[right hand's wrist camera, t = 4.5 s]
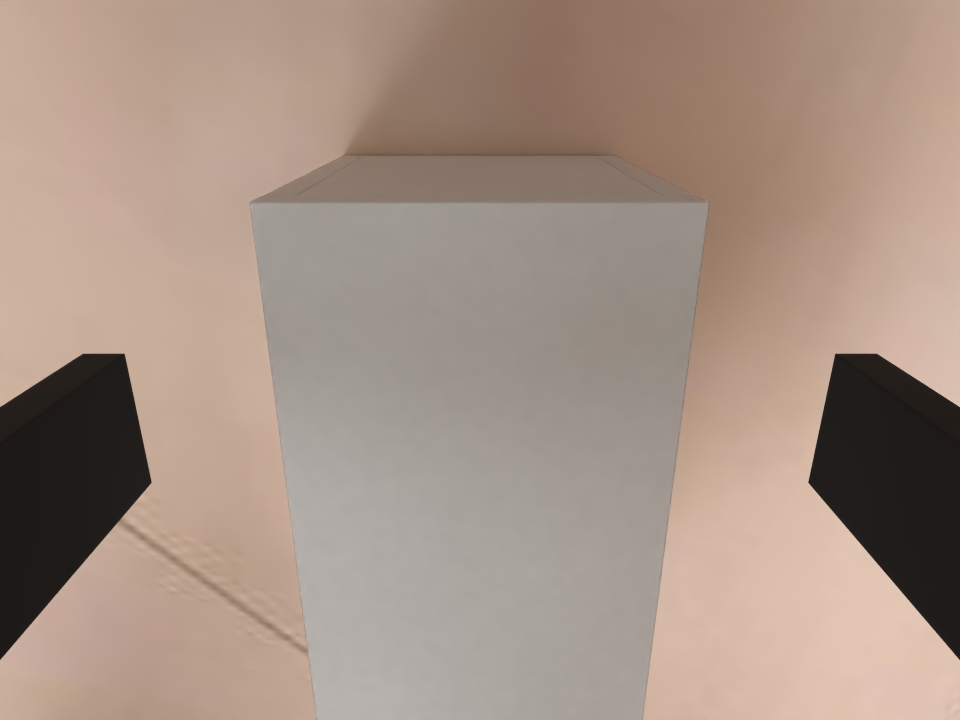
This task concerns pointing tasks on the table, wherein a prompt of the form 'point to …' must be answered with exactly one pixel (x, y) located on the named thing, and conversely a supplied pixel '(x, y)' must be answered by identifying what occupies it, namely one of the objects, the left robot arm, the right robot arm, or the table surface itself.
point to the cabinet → (479, 426)
